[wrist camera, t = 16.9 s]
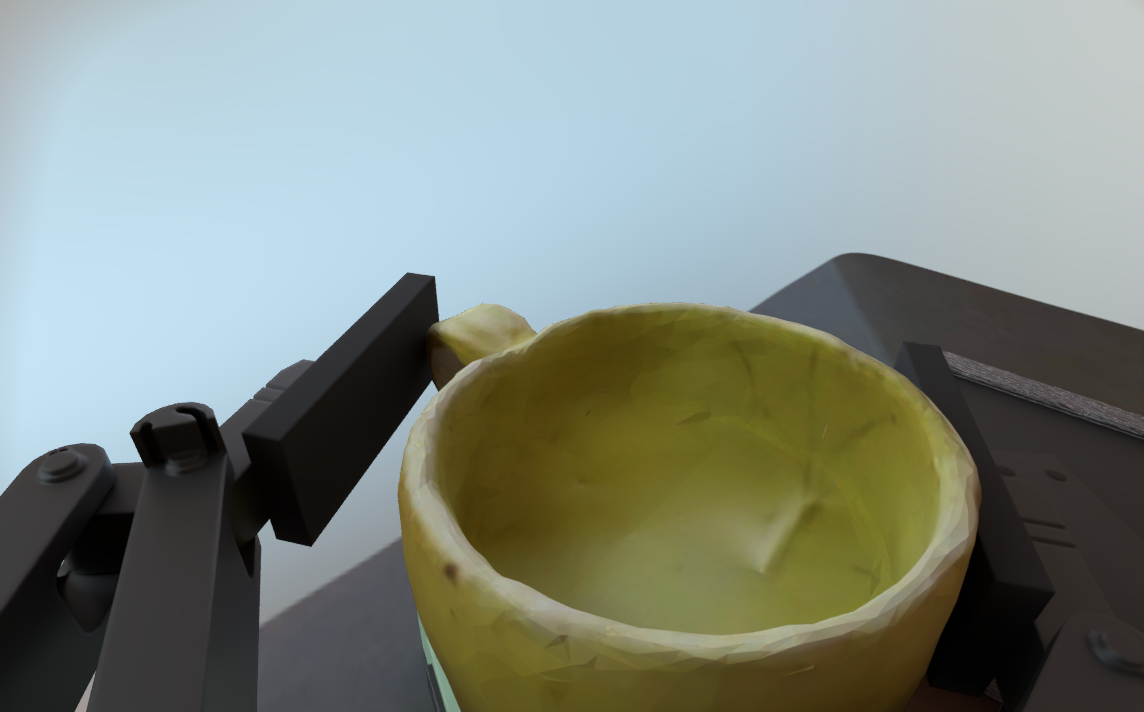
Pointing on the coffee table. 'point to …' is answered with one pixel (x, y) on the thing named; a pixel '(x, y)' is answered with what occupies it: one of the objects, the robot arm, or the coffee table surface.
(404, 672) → the coffee table surface
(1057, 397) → the picture frame
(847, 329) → the coffee table surface
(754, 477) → the mug
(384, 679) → the coffee table surface
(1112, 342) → the coffee table surface
